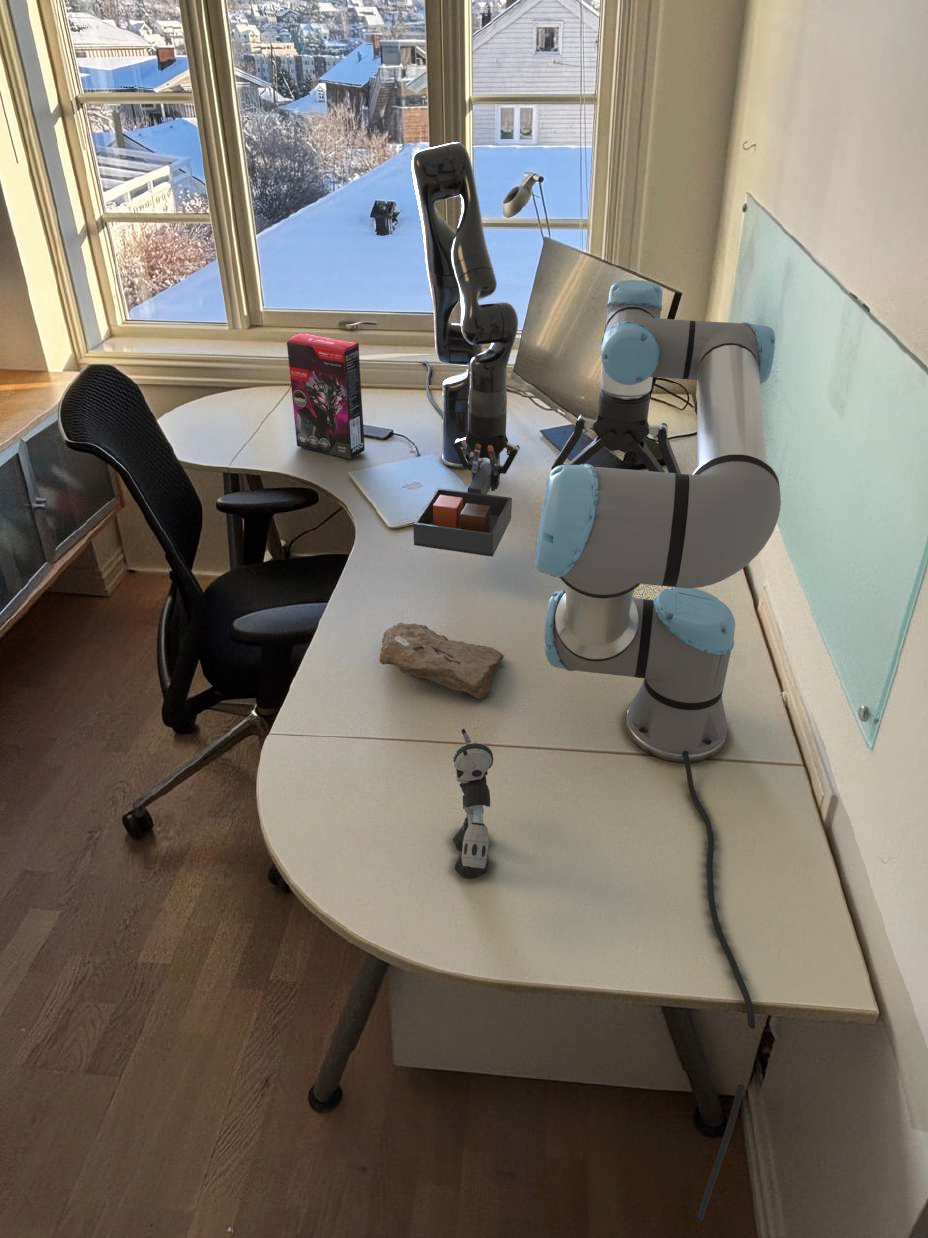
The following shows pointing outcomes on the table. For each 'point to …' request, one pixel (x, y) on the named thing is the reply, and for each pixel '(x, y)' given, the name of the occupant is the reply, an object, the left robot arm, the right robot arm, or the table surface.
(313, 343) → the graphics card box
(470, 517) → the walnut block
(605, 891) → the table surface
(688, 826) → the table surface
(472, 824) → the robot
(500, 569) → the table surface
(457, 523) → the terracotta block
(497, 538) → the tote
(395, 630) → the stone
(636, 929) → the table surface
